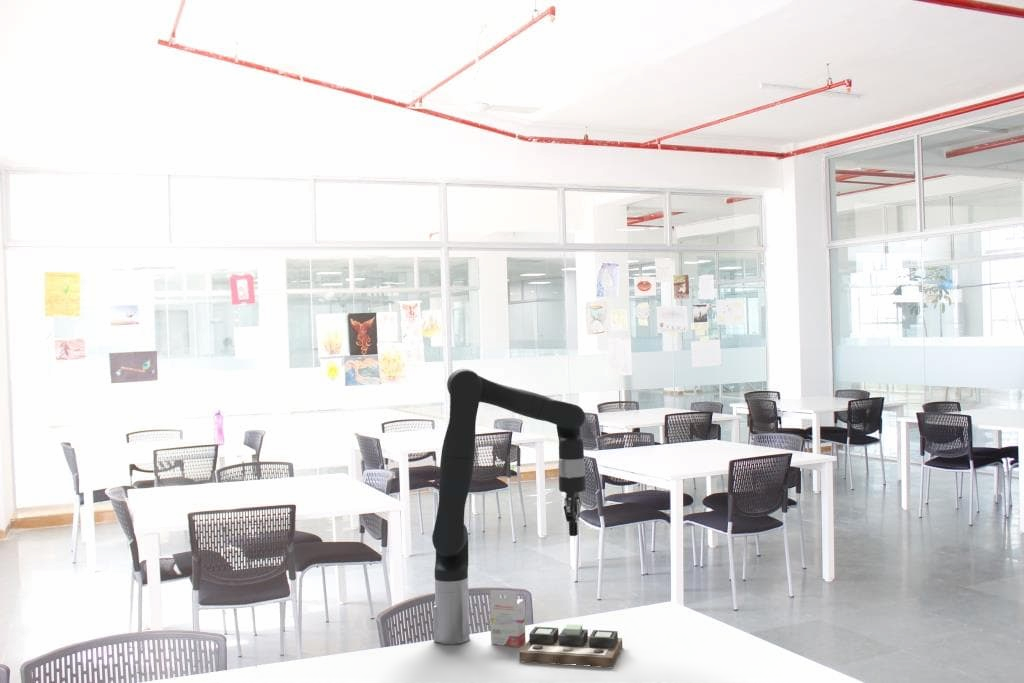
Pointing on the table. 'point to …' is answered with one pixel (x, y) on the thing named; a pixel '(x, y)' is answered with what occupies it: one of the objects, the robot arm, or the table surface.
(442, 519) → the robot arm
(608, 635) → the button
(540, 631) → the button
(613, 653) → the button panel
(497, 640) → the ink cartridge box
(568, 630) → the button middle
